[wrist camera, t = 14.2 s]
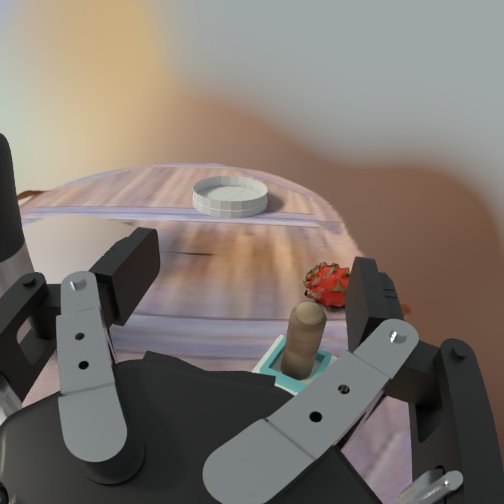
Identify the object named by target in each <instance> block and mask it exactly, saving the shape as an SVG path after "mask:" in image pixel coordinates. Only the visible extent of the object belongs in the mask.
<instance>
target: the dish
mask: <svg viewBox="0 0 504 504" xmlns="http://www.w3.org/2000/svg"><path fill="white" fill-rule="evenodd" d="M235 184H236V185H235ZM243 185H244V186H243ZM248 186H249V187H248ZM193 192H194V195H193V206H194V207H195V208H196V209H197V210H198V211H200V212H202V213H205V214H207V215H211V216H216V217H223V218H242V217H248V216H253V215H256V214H259V213H261V212H262V211H264V210H265V209H266V207H267V198H268V197H267V192H268V188H267V187H266V186H265V185H264V184H263V183H261V182H259V181H256V180H253V179H249V178H244V177H236V176H219V177H211V178H207V179H204V180H201V181H199V182H197V183H196V184H195V185H194V187H193Z"/></svg>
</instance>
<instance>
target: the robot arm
mask: <svg viewBox="0 0 504 504" xmlns="http://www.w3.org/2000/svg"><path fill="white" fill-rule="evenodd" d="M159 270H160V253H159V243H158V234H157V231H156V230H155V229H150V228H142V227H138V228H137V229H136V230H135V231H134V232H133V233H132V234H131V235H130V236H129V237H125V238H123V239H121V240H120V241H118V242H116V243H115V244H114V245H113V246H112V247H111V248H110V250H108V251H107V252H106V253H105V254H104V256H102V257H101V258H100V259H99V260H98V261H97V262H96V263H95V264H94V265H93V266H92V267H91V269H90V270H89V271H79V272H75V273H72V274H70V275H68V276H67V277H66V278H64V280H63V281H62V283H61V284H47V283H46V280H45V277H44V275H43V274H42V273H38V272H34V268H33V265H32V262H31V259H30V256H29V252H28V249H27V245H26V242H25V238H24V234H23V230H22V223H21V216H20V210H19V206H18V201H17V195H16V188H15V180H14V171H13V163H12V156H11V151H10V147H9V143H8V141H7V139H6V138H5V136H4V135H3V134H1V133H0V504H383V503H382V502H381V501H380V499H379V498H378V497H377V496H376V495H375V493H374V492H373V491H372V490H371V488H370V487H369V486H368V485H367V483H366V482H365V481H364V480H363V478H362V477H361V476H360V475H359V473H358V472H357V471H356V470H355V468H354V467H353V466H352V465H351V463H350V462H349V461H348V460H347V458H346V457H345V456H344V454H343V453H342V451H343V450H344V448H345V447H346V446H347V445H348V444H349V443H350V441H351V440H352V439H353V438H354V436H355V435H356V434H357V433H358V431H359V430H360V429H361V428H362V427H363V425H364V424H365V423H366V422H367V421H368V419H369V418H370V417H371V416H372V415H373V413H374V412H375V411H376V410H377V408H378V407H379V406H380V405H381V403H382V402H383V401H384V400H385V398H386V397H387V396H390V397H392V398H395V399H398V400H402V401H405V402H408V406H409V417H410V431H411V448H412V483H411V484H410V485H408V486H407V487H406V488H405V489H404V490H403V491H402V492H401V493H400V495H399V497H398V501H397V504H504V472H503V466H502V460H501V454H500V448H499V443H498V438H497V433H496V429H495V424H494V420H493V415H492V411H491V407H490V403H489V400H488V396H487V392H486V389H485V385H484V382H483V378H482V375H481V372H480V369H479V365H478V362H477V360H476V356H475V354H474V351H473V350H472V349H471V347H470V346H469V345H468V344H466V343H465V342H463V341H461V340H458V339H452V338H451V339H447V340H445V341H444V342H443V343H442V344H441V346H440V348H439V347H436V346H433V345H430V344H427V343H425V342H422V341H420V340H419V336H418V333H417V332H416V330H415V329H414V328H413V326H411V325H410V324H408V323H407V322H405V320H404V317H403V313H402V310H401V306H400V303H399V300H398V299H397V298H398V297H397V293H396V292H395V287H394V284H393V281H392V280H391V279H390V278H389V277H388V275H387V274H386V273H381V272H378V269H377V265H376V262H375V259H371V258H364V257H357V256H356V257H355V259H354V263H353V267H352V270H351V274H350V278H349V282H348V285H347V289H346V294H345V312H346V323H347V335H348V348H349V350H347V351H345V352H344V353H343V354H342V355H341V356H339V357H338V358H337V359H336V360H335V361H334V362H333V363H332V364H331V365H330V366H329V367H328V368H326V369H325V370H324V371H323V372H322V373H321V374H320V375H319V376H317V377H316V378H315V379H314V380H313V381H312V382H311V383H309V384H308V385H307V386H306V387H305V388H304V389H303V390H301V391H300V392H299V393H298V394H297V395H293V394H291V393H290V392H288V391H286V390H284V389H282V388H280V387H277V386H275V380H276V376H273V375H266V374H260V373H253V372H247V371H205V370H202V369H200V368H198V367H196V366H194V365H191V364H189V363H187V362H185V361H183V360H181V359H178V358H176V357H172V356H167V355H163V354H159V353H155V352H151V351H147V352H146V354H145V356H144V358H143V359H136V360H127V361H123V362H119V363H118V360H117V356H116V352H115V348H114V344H113V339H112V335H111V331H110V326H111V325H112V324H115V325H119V326H124V325H125V323H126V322H127V320H128V319H129V317H130V316H131V314H132V313H133V311H134V310H135V308H136V307H137V305H138V304H139V302H140V301H141V299H142V298H143V296H144V295H145V293H146V292H147V290H148V289H149V287H150V286H151V284H152V283H153V281H154V280H155V279H156V277H157V276H158V273H159ZM56 348H57V354H58V368H59V380H60V389H61V390H60V391H58V392H56V393H54V394H52V395H50V396H48V397H46V398H43V399H41V400H39V401H37V402H35V403H33V404H31V405H29V406H26V407H24V408H22V403H23V401H24V399H25V397H26V396H27V394H28V392H29V391H30V389H31V387H32V386H33V384H34V382H35V381H36V379H37V378H38V376H39V374H40V373H41V371H42V370H43V368H44V366H45V365H46V363H47V362H48V360H49V359H50V357H51V355H52V354H53V352H54V351H55V349H56Z"/></svg>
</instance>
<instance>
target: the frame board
mask: <svg viewBox="0 0 504 504" xmlns="http://www.w3.org/2000/svg"><path fill="white" fill-rule="evenodd" d="M285 341H286V335H285V336H283V335H281V334H280V335H279V337H278V338H277V339H276V341H275V342H274V343H273V345H272V346H271V347H270V349H269V350H268V351H267V352H266V354H265V355H264V356H263V358H262V359H261V360H260V361H259V363H258V364H257V365H256V366H255V368H254V369H253V370H252V372H253V373H260V374H266V375H273V376H276V380H275V386H277V387H280V388H282V389H284V390H286V391H288V392H290V393H291V394H293V395H297V394H298V393H299V392H300V391H301V390H303V389H304V388H305V387H306V386H307V385H308V384H309V383H311V382H312V381H313V380H314V379H315V378H316V377H317V376H319V375H320V374H321V373H322V372H323V371H324V370H325V369H326V368H328V367H329V366H330V365H331V364H332V363H333V362H334V361H335V360H336V359H337V357H335V356H332V354H330V353H328V352H325V351H323V350H320V349H318V352H317V355H316V358H315V362H314V365H313V368H312V371H311V374H310V376H309V377H308V378H306V379H304V380H301V381H298V380H295V379H293V378H291V377H289V376H286V375H284V374H282V372H281V368H280V367H281V362H282V357H283V351H284V346H285Z"/></svg>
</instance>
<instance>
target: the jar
mask: <svg viewBox="0 0 504 504" xmlns="http://www.w3.org/2000/svg"><path fill="white" fill-rule="evenodd" d="M326 321H327V318H326V315H325V313H324V312H323V309H322V308H321V306H319V305H318V304H316V303H313V302H303V303H301V304H299V305H298V306H297V307H295V308H294V309H293V310H292V311H291V314H290V320H289V325H288V331H287V336H286V341H285V346H284V351H283V357H282V362H281V367H280V368H281V372H282V374H284V375H286V376H289V377H291V378H293V379H295V380H298V381H301V380H304V379H306V378H308V377H309V376H310V374H311V371H312V368H313V365H314V362H315V358H316V355H317V352H318V349H319V345H320V342H321V338H322V335H323V331H324V328H325V324H326Z"/></svg>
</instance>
